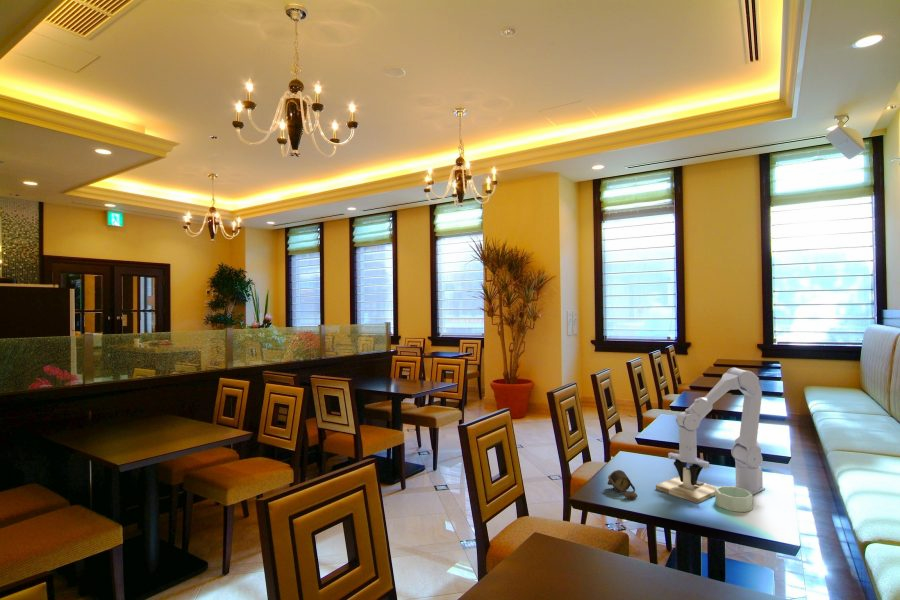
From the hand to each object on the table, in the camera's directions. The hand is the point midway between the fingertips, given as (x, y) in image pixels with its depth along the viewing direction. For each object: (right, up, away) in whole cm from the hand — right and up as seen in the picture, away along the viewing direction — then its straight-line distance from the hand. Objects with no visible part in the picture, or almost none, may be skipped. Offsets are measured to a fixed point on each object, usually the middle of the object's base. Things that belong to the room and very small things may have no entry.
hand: (688, 482), depth 185 cm
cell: (0, -3, 0) cm, 3 cm away
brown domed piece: (-25, -4, -1) cm, 25 cm away
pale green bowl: (+9, -3, -13) cm, 16 cm away
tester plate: (0, -3, 0) cm, 3 cm away
